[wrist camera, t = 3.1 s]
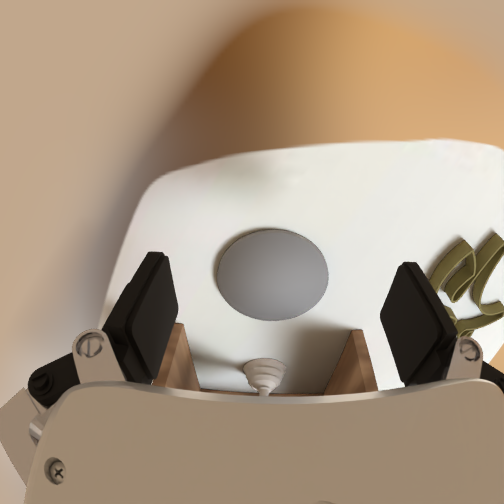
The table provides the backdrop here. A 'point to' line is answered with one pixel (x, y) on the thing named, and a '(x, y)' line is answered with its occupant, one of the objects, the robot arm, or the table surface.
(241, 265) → the coaster
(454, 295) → the cookie cutter
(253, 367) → the chalice
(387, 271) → the table surface
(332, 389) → the brown wooden u-shaped piece
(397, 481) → the robot arm
